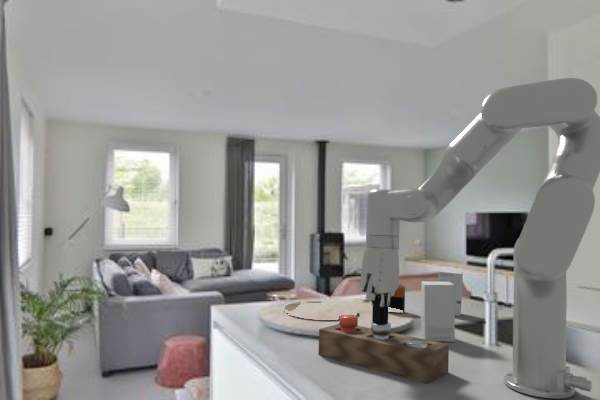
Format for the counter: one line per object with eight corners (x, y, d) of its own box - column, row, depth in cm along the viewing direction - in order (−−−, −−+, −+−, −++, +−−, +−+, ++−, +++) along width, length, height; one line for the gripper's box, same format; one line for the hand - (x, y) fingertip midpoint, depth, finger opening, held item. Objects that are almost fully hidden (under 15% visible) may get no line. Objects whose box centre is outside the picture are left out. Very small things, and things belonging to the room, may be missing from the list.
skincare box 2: (436, 314, 164) (437, 271, 165) (437, 311, 170) (438, 269, 171) (461, 316, 162) (462, 273, 162) (462, 313, 167) (462, 271, 168)
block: (448, 372, 103) (448, 344, 103) (427, 383, 95) (428, 353, 95) (342, 346, 121) (343, 322, 121) (318, 354, 113) (319, 329, 114)
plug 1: (393, 347, 108) (394, 323, 109) (383, 350, 105) (384, 326, 105) (377, 343, 111) (377, 320, 111) (367, 346, 108) (367, 323, 108)
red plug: (360, 339, 114) (361, 316, 114) (350, 342, 111) (350, 319, 111) (345, 335, 117) (346, 314, 117) (335, 338, 114) (335, 316, 114)
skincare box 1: (450, 336, 134) (451, 281, 134) (455, 343, 127) (456, 284, 128) (419, 335, 134) (420, 280, 135) (423, 341, 128) (424, 283, 128)
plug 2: (430, 368, 102) (431, 343, 103) (421, 372, 99) (421, 347, 99) (412, 363, 105) (412, 339, 106) (402, 368, 102) (402, 343, 102)
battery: (385, 310, 170) (386, 282, 170) (404, 311, 168) (405, 283, 168) (383, 312, 166) (384, 283, 166) (403, 314, 163) (403, 285, 164)
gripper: (384, 241, 117) (382, 316, 117) (350, 242, 106) (347, 325, 105) (412, 243, 112) (410, 321, 112) (379, 245, 101) (376, 332, 100)
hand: (380, 323), depth 108 cm, fingers closed
